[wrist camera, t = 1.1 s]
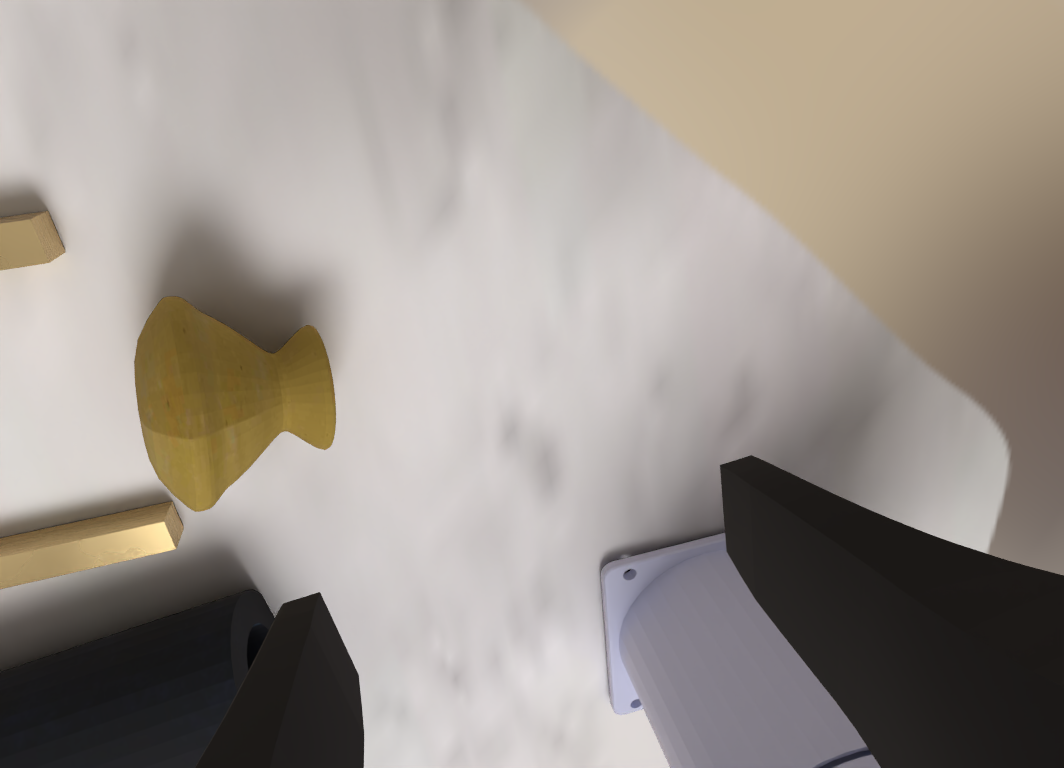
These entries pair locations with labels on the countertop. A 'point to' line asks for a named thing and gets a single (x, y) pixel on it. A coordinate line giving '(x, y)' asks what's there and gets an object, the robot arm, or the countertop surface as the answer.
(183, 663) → the pipe connector
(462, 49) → the countertop surface
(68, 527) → the u-shaped bracket
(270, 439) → the knob
